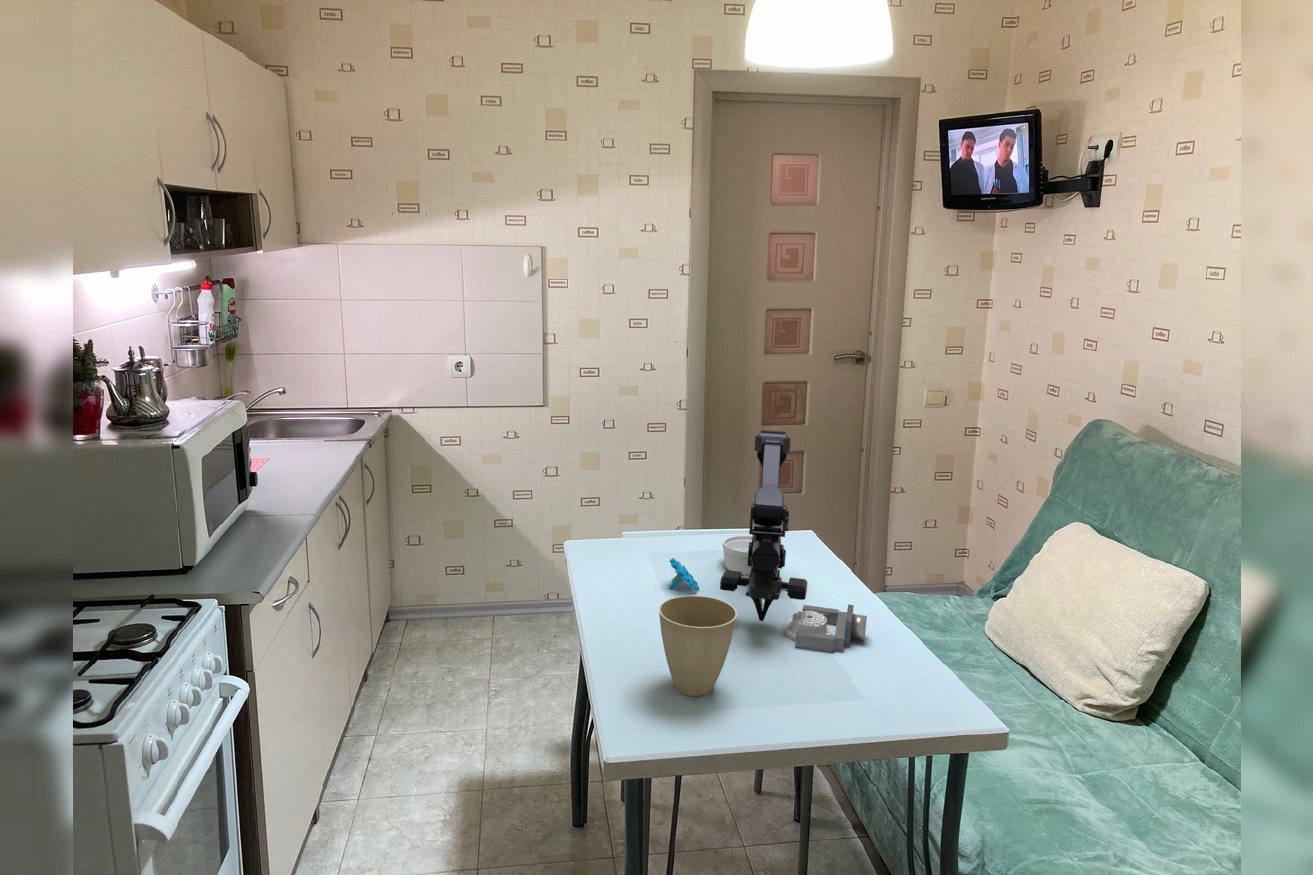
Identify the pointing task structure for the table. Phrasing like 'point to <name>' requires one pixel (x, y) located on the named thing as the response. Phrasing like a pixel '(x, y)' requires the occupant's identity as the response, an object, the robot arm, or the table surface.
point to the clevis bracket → (845, 630)
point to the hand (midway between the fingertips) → (761, 620)
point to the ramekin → (737, 553)
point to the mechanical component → (807, 624)
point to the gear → (682, 575)
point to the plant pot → (696, 640)
